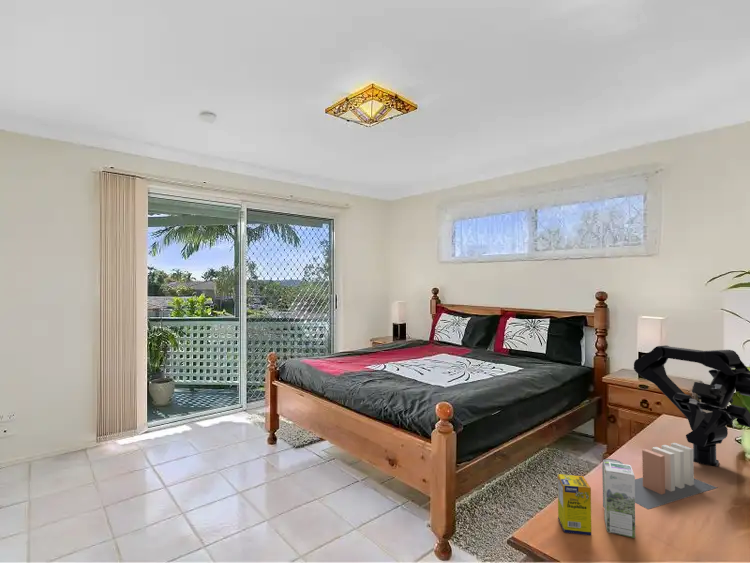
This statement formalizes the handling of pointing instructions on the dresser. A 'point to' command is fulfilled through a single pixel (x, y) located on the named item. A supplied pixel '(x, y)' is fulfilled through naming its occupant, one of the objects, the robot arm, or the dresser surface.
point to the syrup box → (619, 499)
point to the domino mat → (667, 493)
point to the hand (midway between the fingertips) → (698, 431)
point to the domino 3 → (687, 463)
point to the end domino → (653, 471)
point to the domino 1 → (668, 468)
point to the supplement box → (574, 504)
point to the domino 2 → (677, 465)
